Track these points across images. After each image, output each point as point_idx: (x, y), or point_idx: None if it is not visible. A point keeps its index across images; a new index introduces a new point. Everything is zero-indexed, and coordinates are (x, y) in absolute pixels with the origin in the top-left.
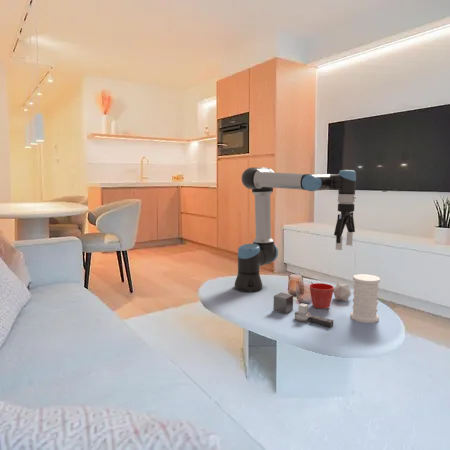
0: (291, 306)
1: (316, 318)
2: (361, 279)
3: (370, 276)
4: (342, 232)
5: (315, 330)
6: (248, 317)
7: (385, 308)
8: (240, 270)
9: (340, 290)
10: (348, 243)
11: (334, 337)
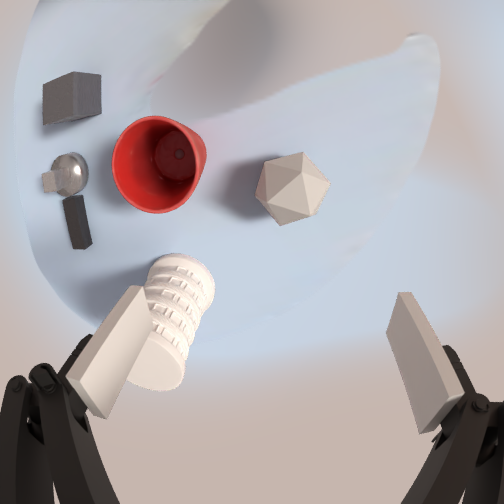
0: (87, 115)
1: (66, 215)
2: None
3: (160, 372)
4: (94, 449)
5: (55, 225)
6: (23, 85)
7: (288, 308)
8: None
9: (261, 196)
10: (398, 320)
11: (60, 264)
